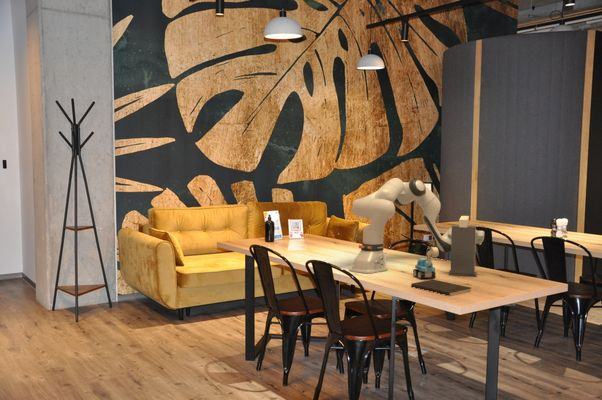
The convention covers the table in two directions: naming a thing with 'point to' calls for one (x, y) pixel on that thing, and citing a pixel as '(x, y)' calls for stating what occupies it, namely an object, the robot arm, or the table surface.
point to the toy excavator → (426, 265)
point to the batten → (464, 221)
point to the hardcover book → (441, 287)
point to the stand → (463, 251)
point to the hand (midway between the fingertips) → (465, 229)
